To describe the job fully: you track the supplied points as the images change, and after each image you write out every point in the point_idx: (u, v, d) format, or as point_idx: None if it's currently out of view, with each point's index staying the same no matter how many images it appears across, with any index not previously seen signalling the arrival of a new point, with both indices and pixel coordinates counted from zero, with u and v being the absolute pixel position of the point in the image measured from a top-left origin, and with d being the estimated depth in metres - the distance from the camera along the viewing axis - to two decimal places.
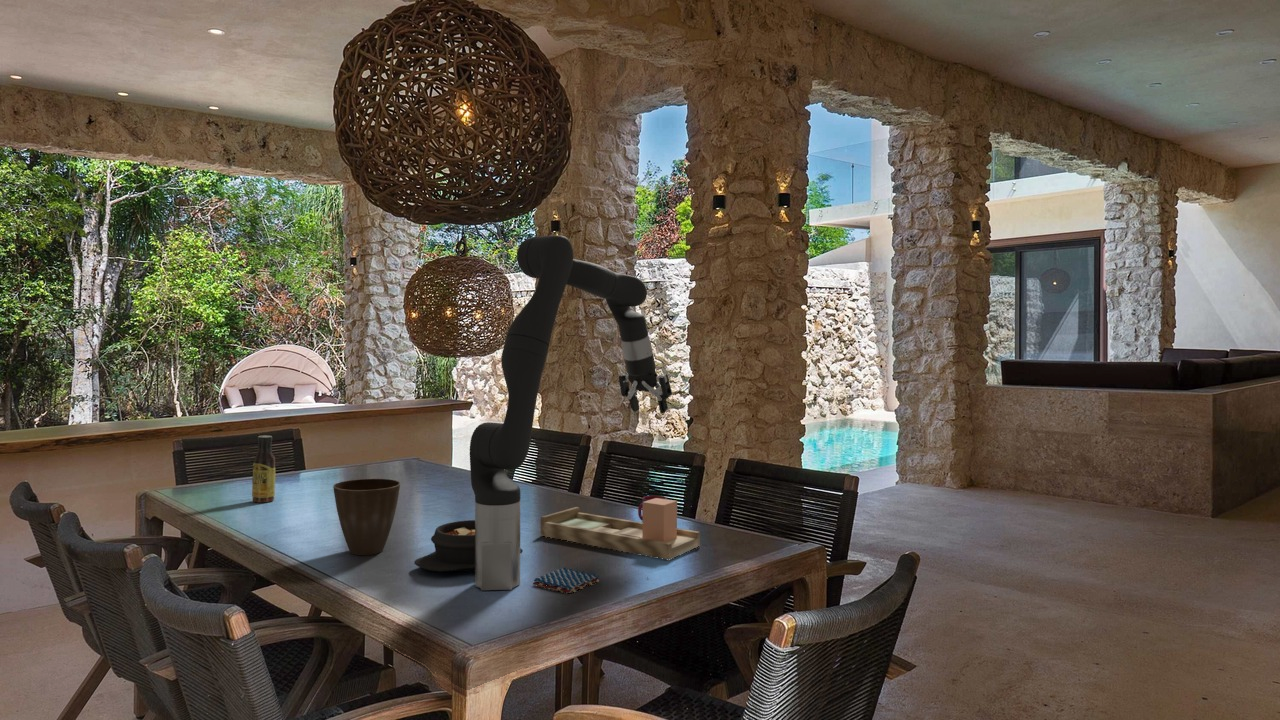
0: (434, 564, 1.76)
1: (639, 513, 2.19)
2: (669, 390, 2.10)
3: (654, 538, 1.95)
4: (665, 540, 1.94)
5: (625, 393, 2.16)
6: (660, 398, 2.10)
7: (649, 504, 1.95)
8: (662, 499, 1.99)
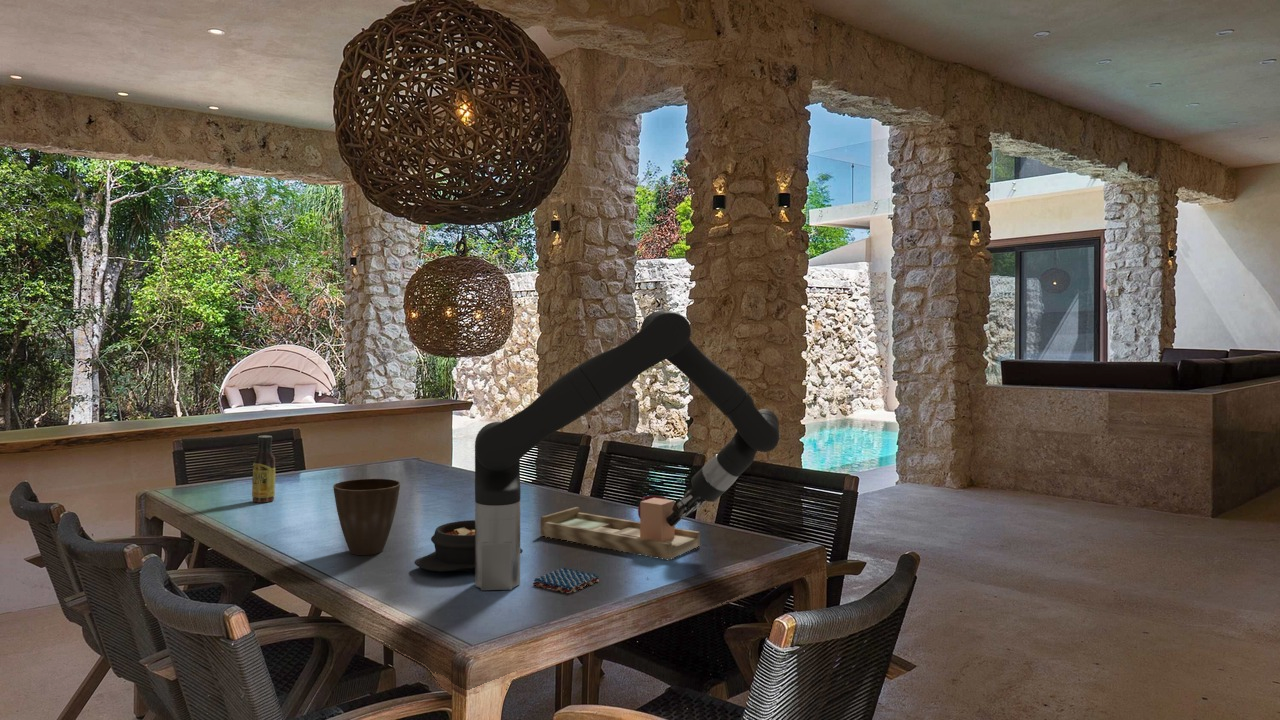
0: (434, 564, 1.76)
1: (639, 513, 2.19)
2: None
3: (652, 538, 1.95)
4: (662, 540, 1.94)
5: None
6: None
7: (647, 504, 1.95)
8: (660, 499, 2.00)
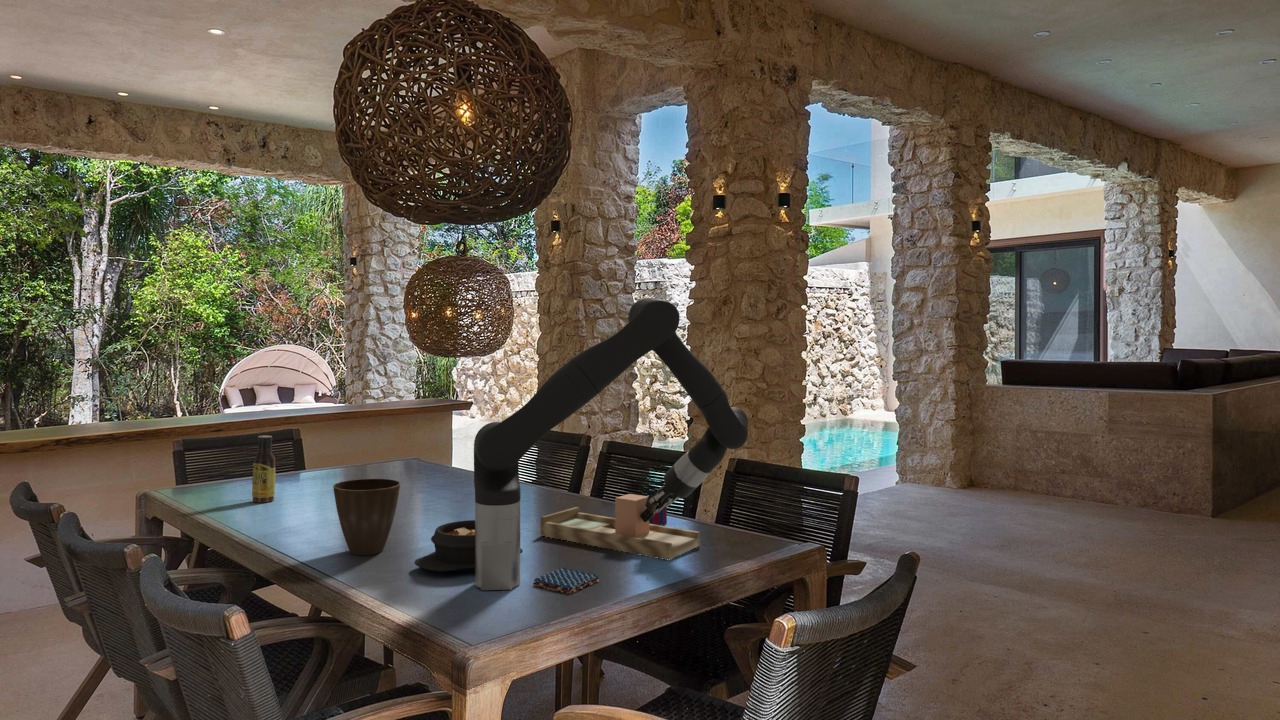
0: (434, 564, 1.76)
1: None
2: (651, 509, 1.94)
3: (626, 533, 1.99)
4: (636, 535, 1.98)
5: None
6: None
7: (621, 500, 2.00)
8: (635, 495, 2.04)
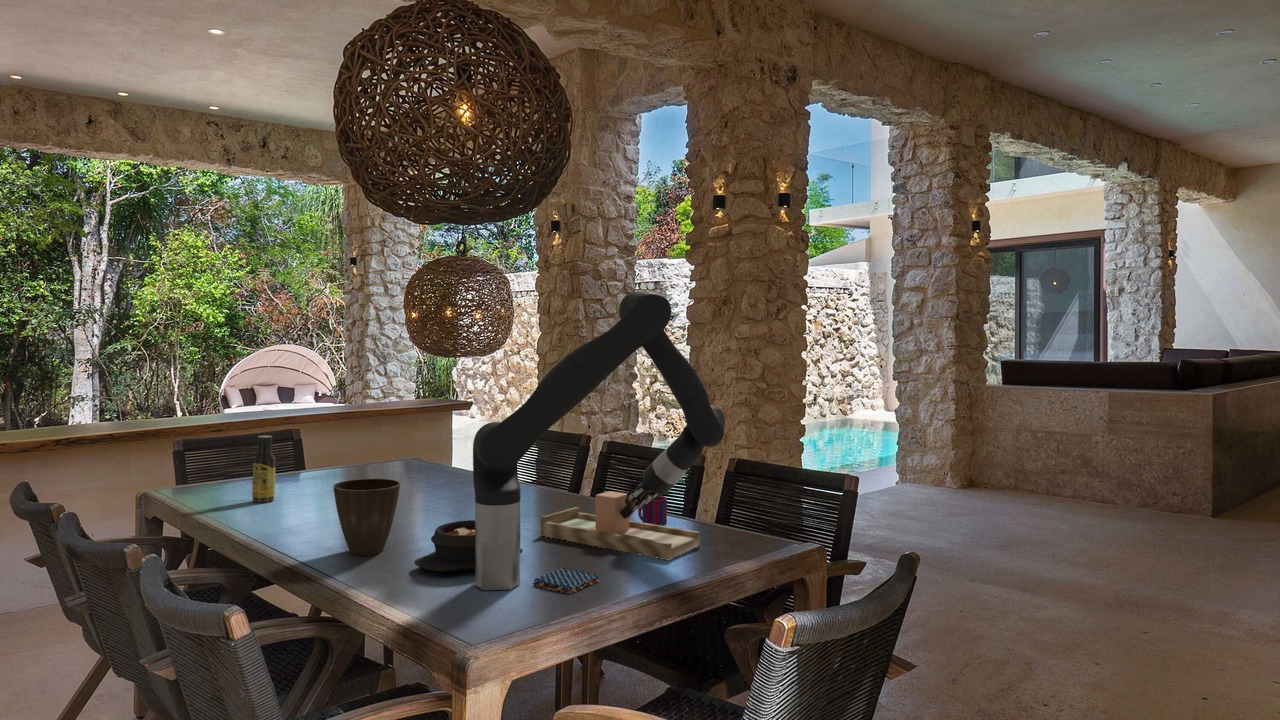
0: (434, 564, 1.76)
1: (639, 513, 2.19)
2: None
3: (606, 529, 2.03)
4: (616, 532, 2.02)
5: None
6: None
7: (601, 497, 2.03)
8: (615, 492, 2.07)
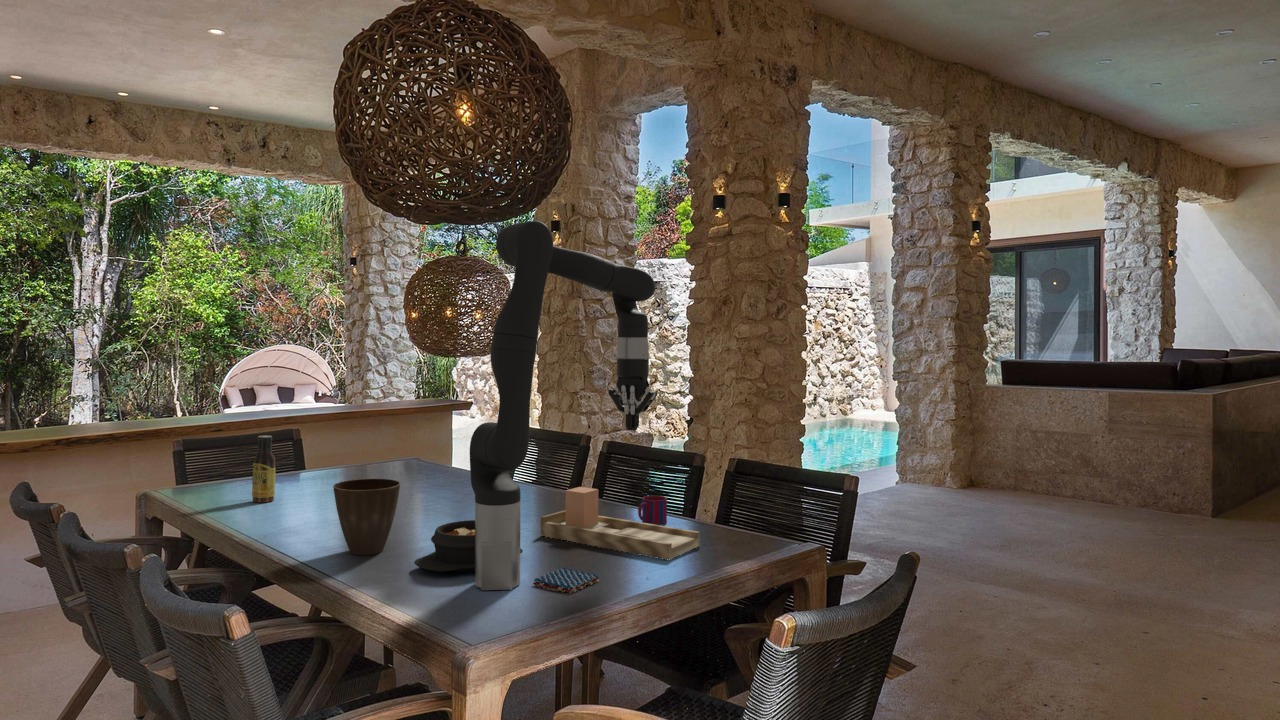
0: (434, 564, 1.76)
1: (639, 513, 2.19)
2: (646, 407, 1.92)
3: (576, 524, 2.08)
4: (585, 526, 2.07)
5: (623, 407, 1.94)
6: (633, 411, 1.92)
7: (571, 492, 2.09)
8: (585, 488, 2.13)
